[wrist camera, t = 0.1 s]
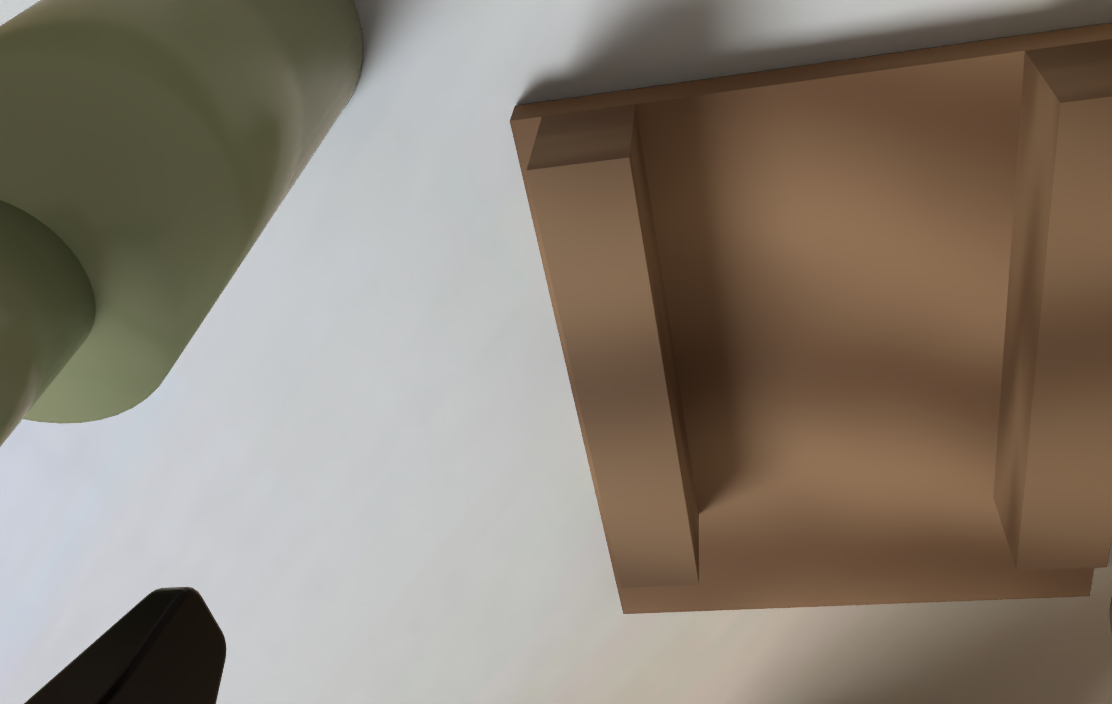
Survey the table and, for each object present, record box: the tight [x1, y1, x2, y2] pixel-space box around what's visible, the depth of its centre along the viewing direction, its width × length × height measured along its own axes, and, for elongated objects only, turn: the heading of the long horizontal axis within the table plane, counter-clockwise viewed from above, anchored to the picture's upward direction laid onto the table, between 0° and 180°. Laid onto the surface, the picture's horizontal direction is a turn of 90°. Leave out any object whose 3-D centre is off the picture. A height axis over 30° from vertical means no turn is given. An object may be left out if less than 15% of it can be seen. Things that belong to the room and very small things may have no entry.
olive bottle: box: [0, 0, 363, 447], centre depth 17 cm, size 5×5×14 cm
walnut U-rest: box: [510, 23, 1112, 614], centre depth 25 cm, size 16×13×3 cm
